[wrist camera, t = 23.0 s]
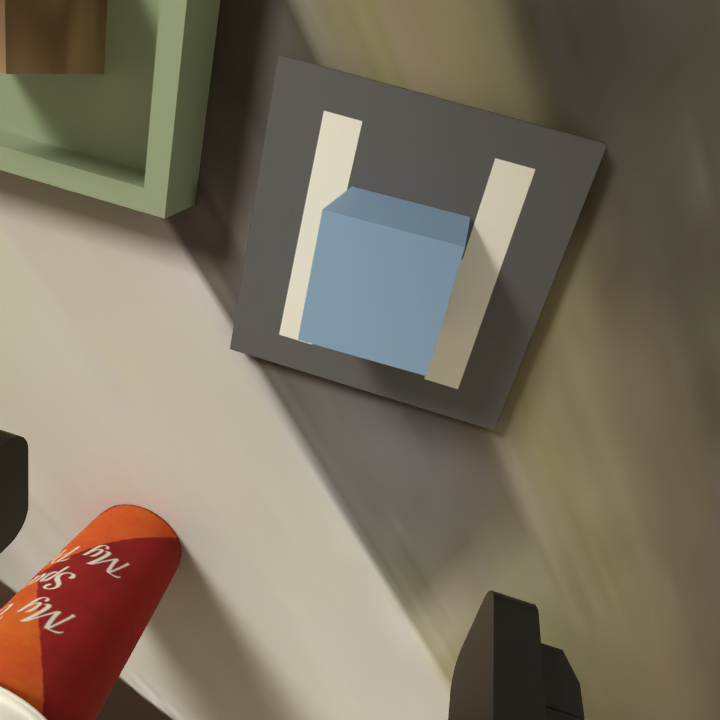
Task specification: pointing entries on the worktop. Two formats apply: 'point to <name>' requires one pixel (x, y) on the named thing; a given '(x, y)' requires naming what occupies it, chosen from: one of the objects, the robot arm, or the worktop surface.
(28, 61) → the walnut block
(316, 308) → the slate cube
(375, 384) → the letter mat
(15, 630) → the paper cup
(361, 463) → the worktop surface
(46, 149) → the tray
